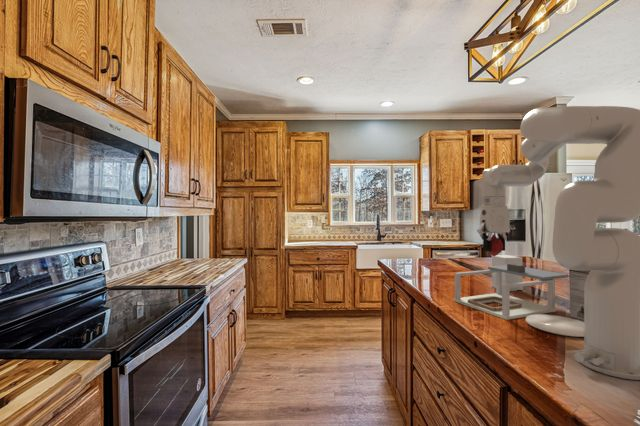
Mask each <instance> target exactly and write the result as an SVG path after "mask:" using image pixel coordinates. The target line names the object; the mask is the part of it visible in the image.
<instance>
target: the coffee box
mask: <svg viewBox="0 0 640 426" xmlns="http://www.w3.org/2000/svg"><path fill="white" fill-rule="evenodd" d="M568 271H569V274H568V277H569V316H570V317H571V318H573V319H574V318H575V319H577V318H578V319H577V320H580V319H581V320H582V321H584V287H585V282H586V279H587V277H588V275H589V273H590V271H591V270H588V271H579V270H570V269H568ZM581 320H580V321H581Z"/></svg>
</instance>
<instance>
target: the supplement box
mask: <svg viewBox="0 0 640 426" xmlns="http://www.w3.org/2000/svg"><path fill="white" fill-rule="evenodd" d="M507 264H519V265H523V257H521V256H515V255H509V254H497V255H496V256H492V255H491V266H502V265H507ZM523 277H524V276H520V275H515V274H510V273H505V272H502V285H503V284H511V283H520V282H524V280H523ZM523 287H524V286H523ZM523 287H515V288H510V292H518V291H517V290H522V291H523V290H524V288H523ZM491 288H494V289H496V272H495V273H491Z"/></svg>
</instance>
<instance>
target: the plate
mask: <svg viewBox="0 0 640 426" xmlns="http://www.w3.org/2000/svg"><path fill="white" fill-rule="evenodd" d="M525 322H526V323H527V324H528V325H529V326H531V327H534V328H536V329H538V330H541V331H544V332H548V333H550V334H555V335H561V336H567V337H568V336H569V337H578V338H579V337H580V338H581V337H582V338H584V321H583V320H582V321H581V320H580V319H576V318H575V319H574V318H573V317H571V318H570V317H566V316H561V315H555V314H546V313H544V314H535V315H529V316H526V317H525Z"/></svg>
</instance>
